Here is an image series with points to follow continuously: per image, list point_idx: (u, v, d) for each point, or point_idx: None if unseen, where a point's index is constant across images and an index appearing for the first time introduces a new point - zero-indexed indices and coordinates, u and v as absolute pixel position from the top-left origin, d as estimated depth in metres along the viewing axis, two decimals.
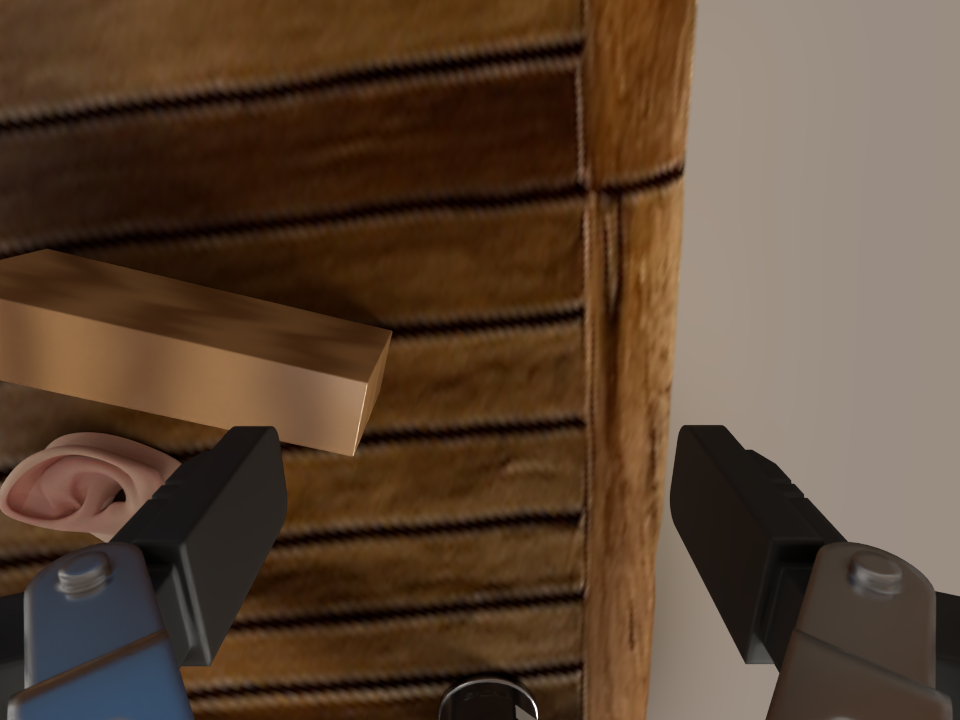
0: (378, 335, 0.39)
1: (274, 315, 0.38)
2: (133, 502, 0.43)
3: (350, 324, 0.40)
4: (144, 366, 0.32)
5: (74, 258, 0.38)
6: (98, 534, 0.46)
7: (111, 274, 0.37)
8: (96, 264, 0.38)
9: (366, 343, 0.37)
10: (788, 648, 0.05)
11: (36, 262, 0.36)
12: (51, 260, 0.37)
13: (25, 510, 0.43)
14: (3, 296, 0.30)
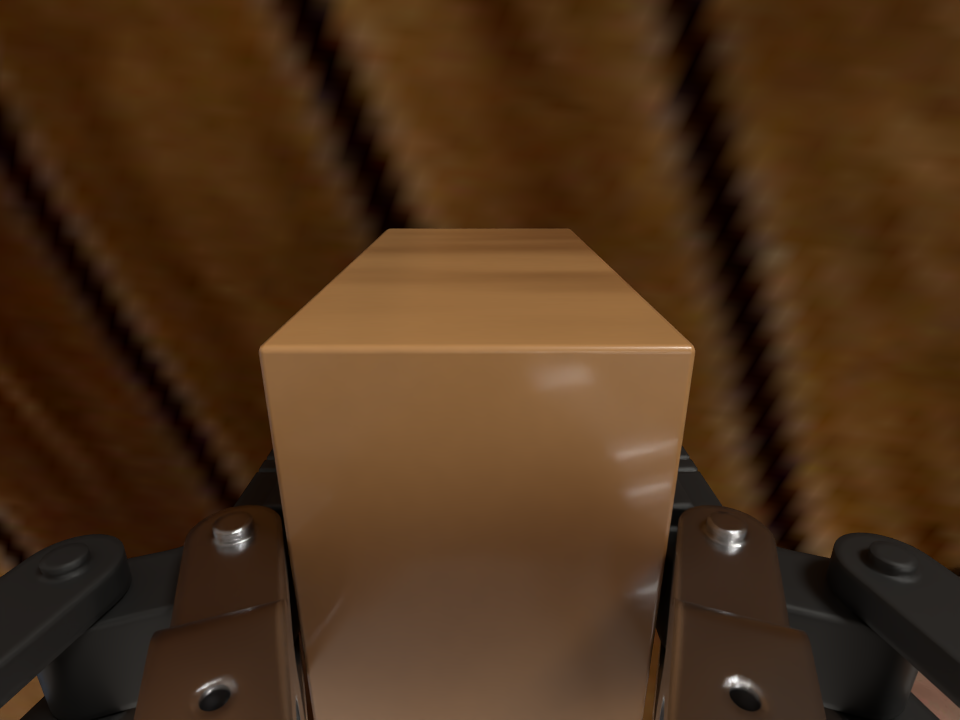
0: None
1: None
2: None
3: None
4: None
5: None
6: None
7: None
8: None
9: None
10: (675, 620, 0.06)
11: None
12: None
13: None
14: None
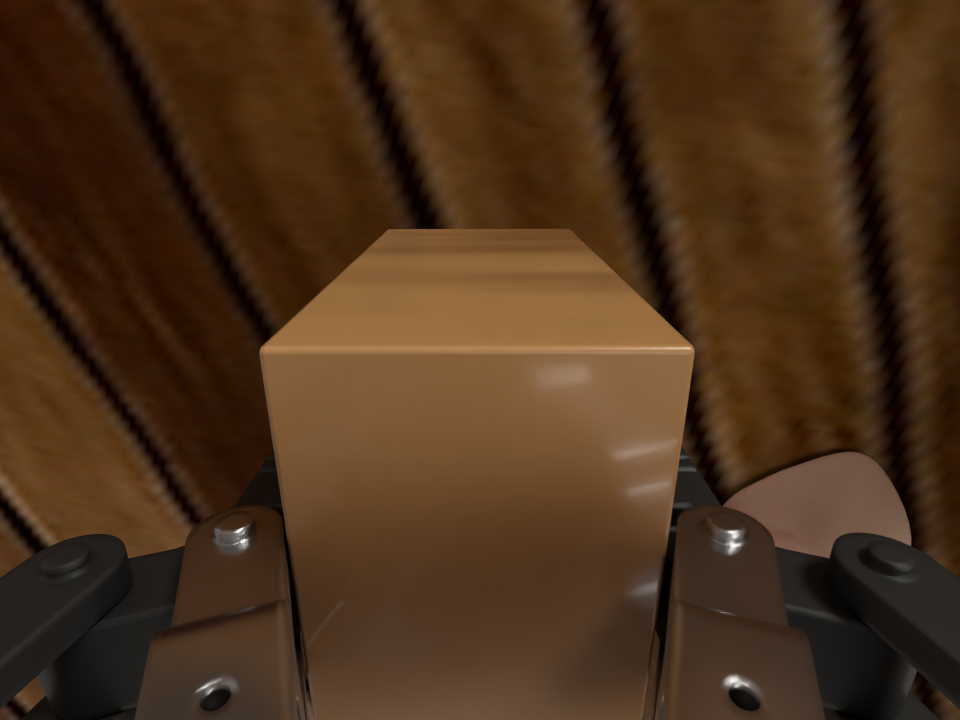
0: None
1: None
2: None
3: None
4: None
5: None
6: None
7: None
8: None
9: None
10: (674, 621, 0.06)
11: None
12: None
13: None
14: None
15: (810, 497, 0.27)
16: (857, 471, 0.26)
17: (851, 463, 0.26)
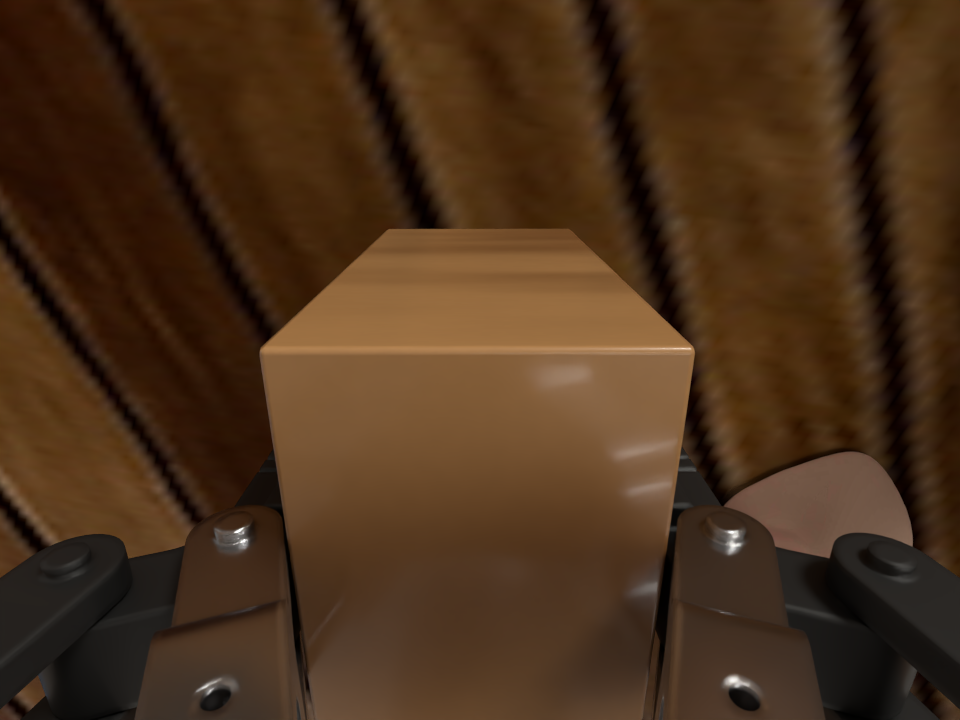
0: None
1: None
2: None
3: None
4: None
5: None
6: None
7: None
8: None
9: None
10: (674, 620, 0.06)
11: None
12: None
13: None
14: None
15: (811, 497, 0.26)
16: (859, 471, 0.26)
17: (853, 463, 0.26)
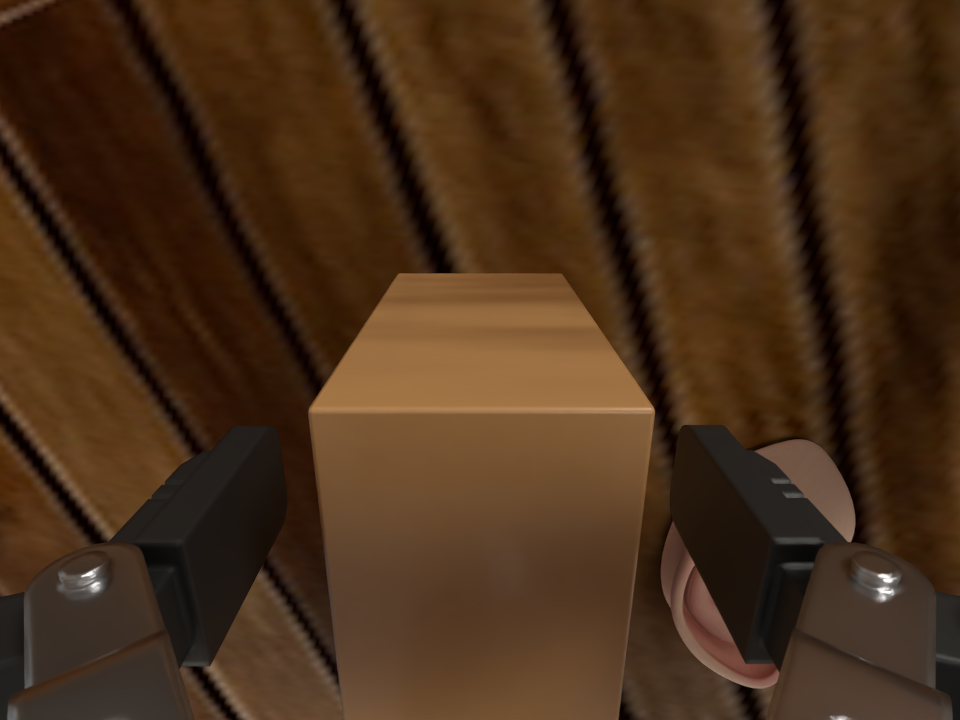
0: None
1: None
2: None
3: None
4: None
5: None
6: None
7: None
8: None
9: None
10: (788, 648, 0.05)
11: None
12: None
13: None
14: None
15: None
16: (805, 456, 0.30)
17: (800, 449, 0.30)
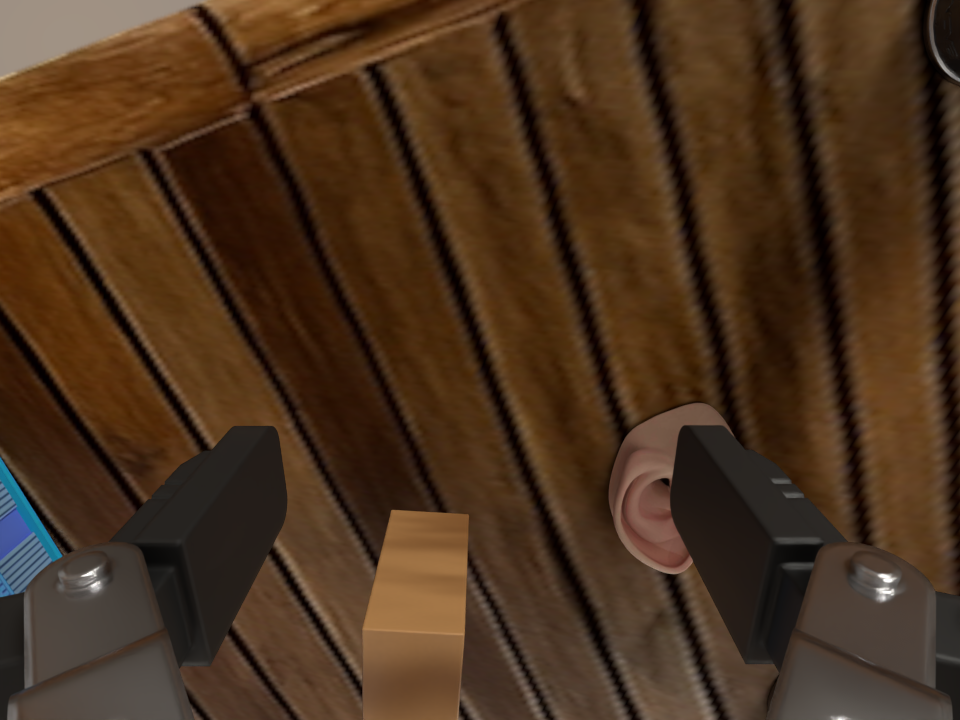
0: None
1: None
2: (664, 472, 0.45)
3: None
4: None
5: None
6: None
7: None
8: None
9: None
10: (788, 648, 0.05)
11: None
12: None
13: (685, 554, 0.47)
14: None
15: (675, 429, 0.45)
16: (702, 414, 0.45)
17: (698, 409, 0.45)
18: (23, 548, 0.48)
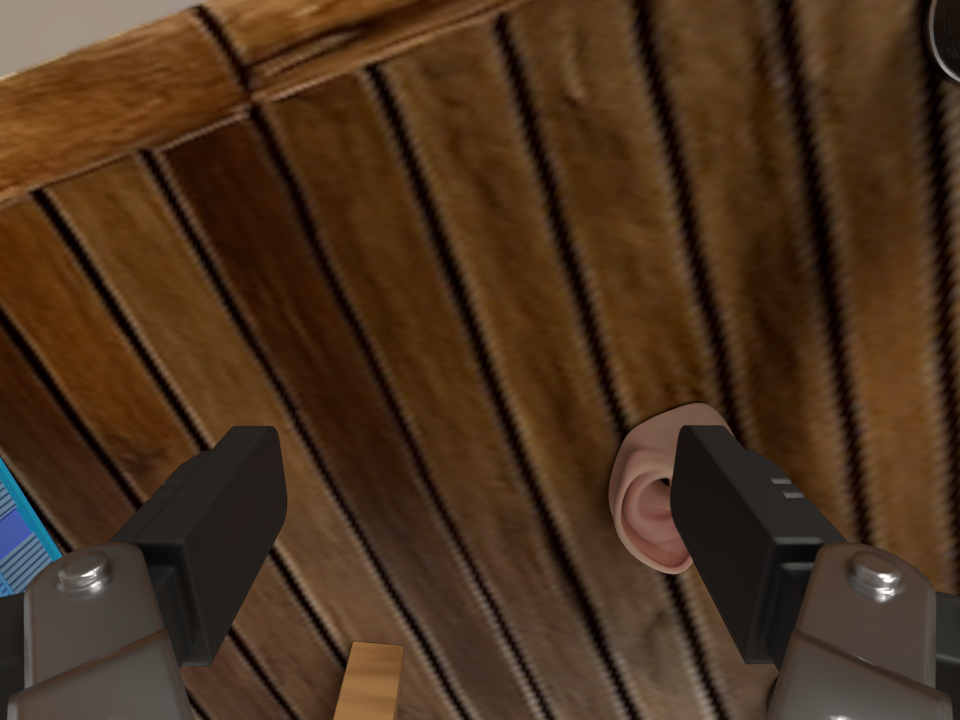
0: None
1: None
2: (664, 472, 0.45)
3: None
4: None
5: None
6: None
7: None
8: None
9: None
10: (788, 648, 0.05)
11: None
12: None
13: (685, 554, 0.47)
14: None
15: (675, 429, 0.45)
16: (702, 414, 0.45)
17: (698, 409, 0.45)
18: (23, 548, 0.48)
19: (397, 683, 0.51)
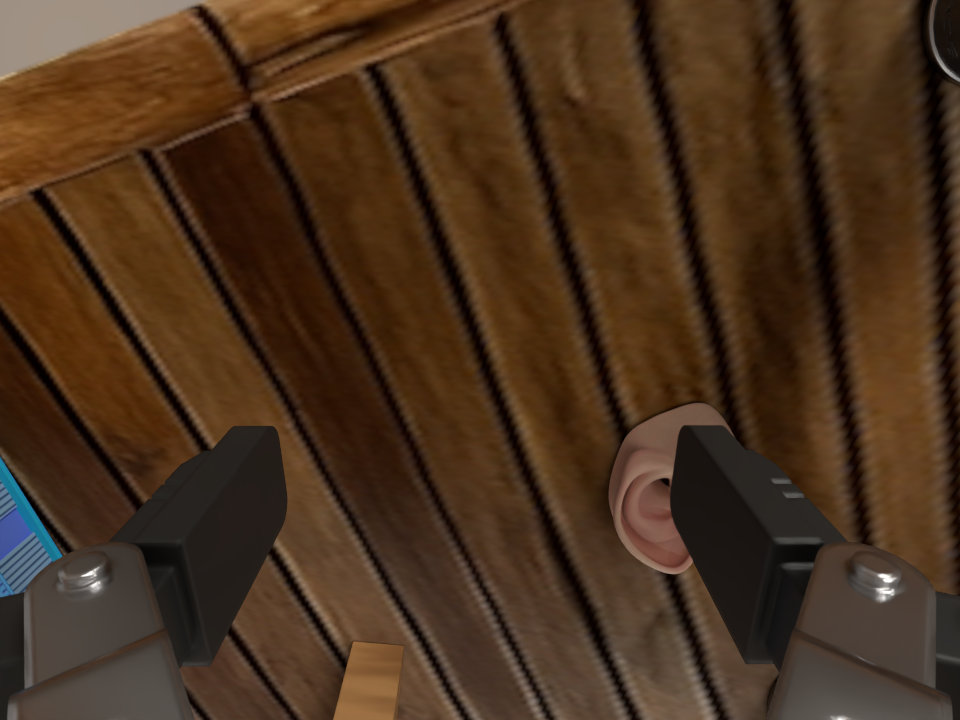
0: None
1: None
2: (664, 472, 0.45)
3: None
4: None
5: None
6: None
7: None
8: None
9: None
10: (788, 648, 0.05)
11: None
12: None
13: (685, 554, 0.47)
14: None
15: (675, 429, 0.45)
16: (702, 414, 0.45)
17: (698, 409, 0.45)
18: (23, 548, 0.48)
19: (397, 683, 0.51)
